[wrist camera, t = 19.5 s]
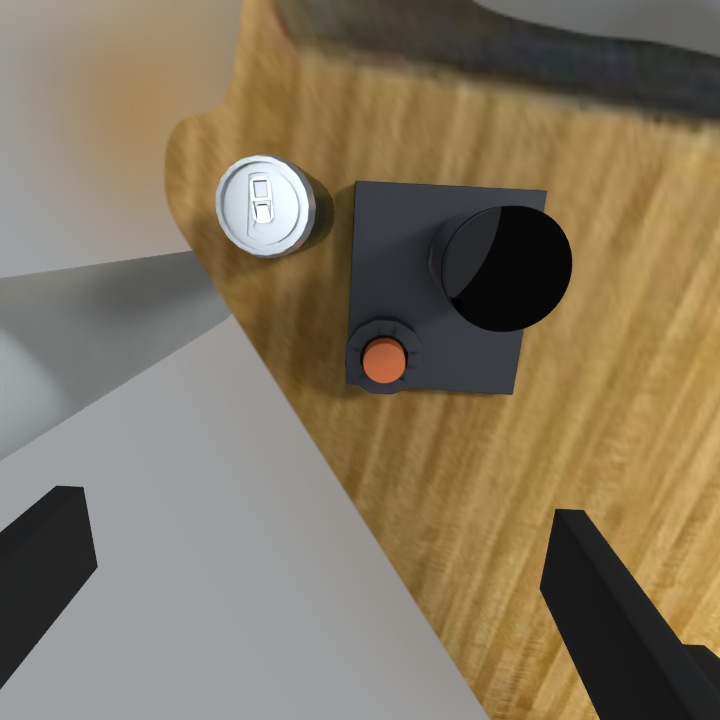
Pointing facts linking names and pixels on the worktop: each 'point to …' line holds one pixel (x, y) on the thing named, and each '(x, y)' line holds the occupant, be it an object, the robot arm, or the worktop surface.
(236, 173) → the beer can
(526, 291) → the supplement container
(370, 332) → the kitchen scale
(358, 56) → the worktop surface
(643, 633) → the robot arm
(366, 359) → the button
